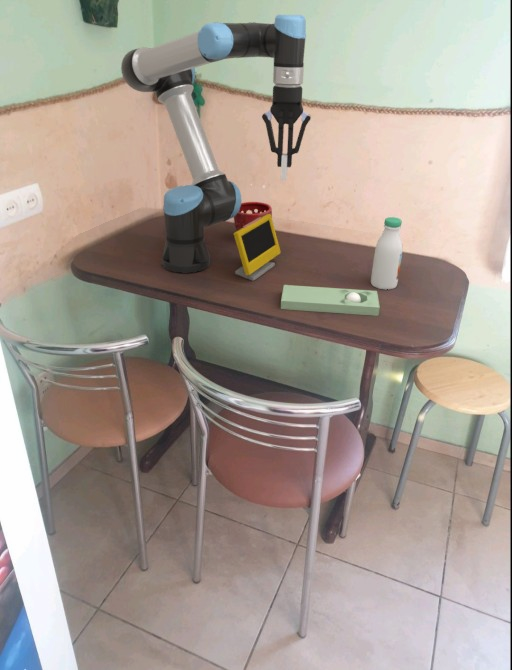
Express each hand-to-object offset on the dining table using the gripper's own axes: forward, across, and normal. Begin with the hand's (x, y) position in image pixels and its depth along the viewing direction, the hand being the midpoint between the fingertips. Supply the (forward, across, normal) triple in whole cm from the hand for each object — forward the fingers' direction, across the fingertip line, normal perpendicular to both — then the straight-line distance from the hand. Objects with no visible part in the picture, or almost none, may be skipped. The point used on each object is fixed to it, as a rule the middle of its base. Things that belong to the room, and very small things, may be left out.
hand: (283, 178), depth 149 cm
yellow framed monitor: (+30, -8, +3) cm, 31 cm away
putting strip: (+29, +15, -16) cm, 37 cm away
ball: (+27, +21, -16) cm, 38 cm away
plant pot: (+30, -12, +29) cm, 43 cm away
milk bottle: (+30, +31, -1) cm, 43 cm away
